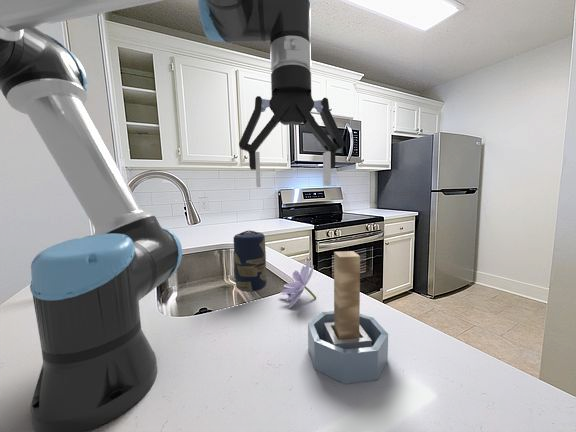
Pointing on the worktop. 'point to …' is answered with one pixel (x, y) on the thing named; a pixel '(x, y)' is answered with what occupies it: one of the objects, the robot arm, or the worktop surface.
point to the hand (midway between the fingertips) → (293, 186)
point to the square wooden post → (346, 294)
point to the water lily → (298, 284)
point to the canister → (250, 261)
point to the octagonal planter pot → (348, 349)
